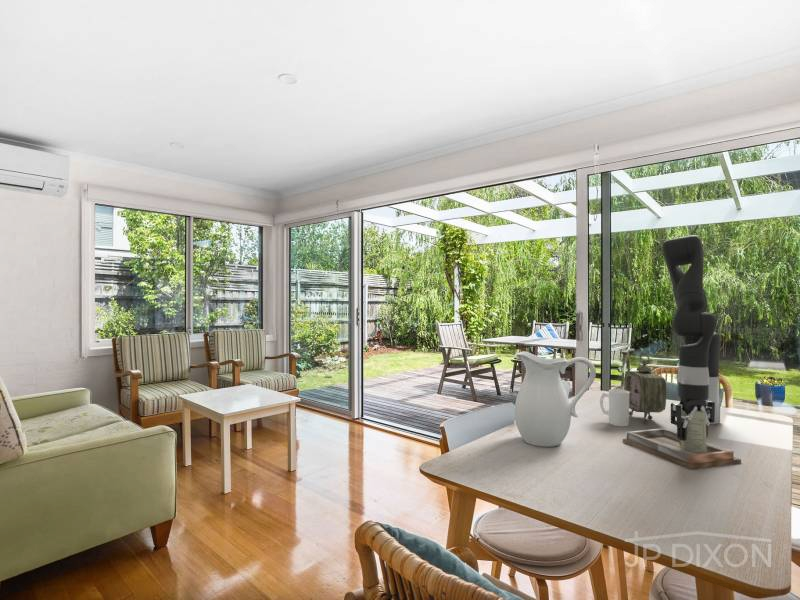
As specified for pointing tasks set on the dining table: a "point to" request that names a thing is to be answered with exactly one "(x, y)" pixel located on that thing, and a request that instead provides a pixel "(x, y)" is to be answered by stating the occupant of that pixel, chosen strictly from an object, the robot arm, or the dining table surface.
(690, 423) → the skincare box
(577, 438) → the dining table surface
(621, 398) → the mug
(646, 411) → the tabletop clock
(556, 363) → the pitcher
